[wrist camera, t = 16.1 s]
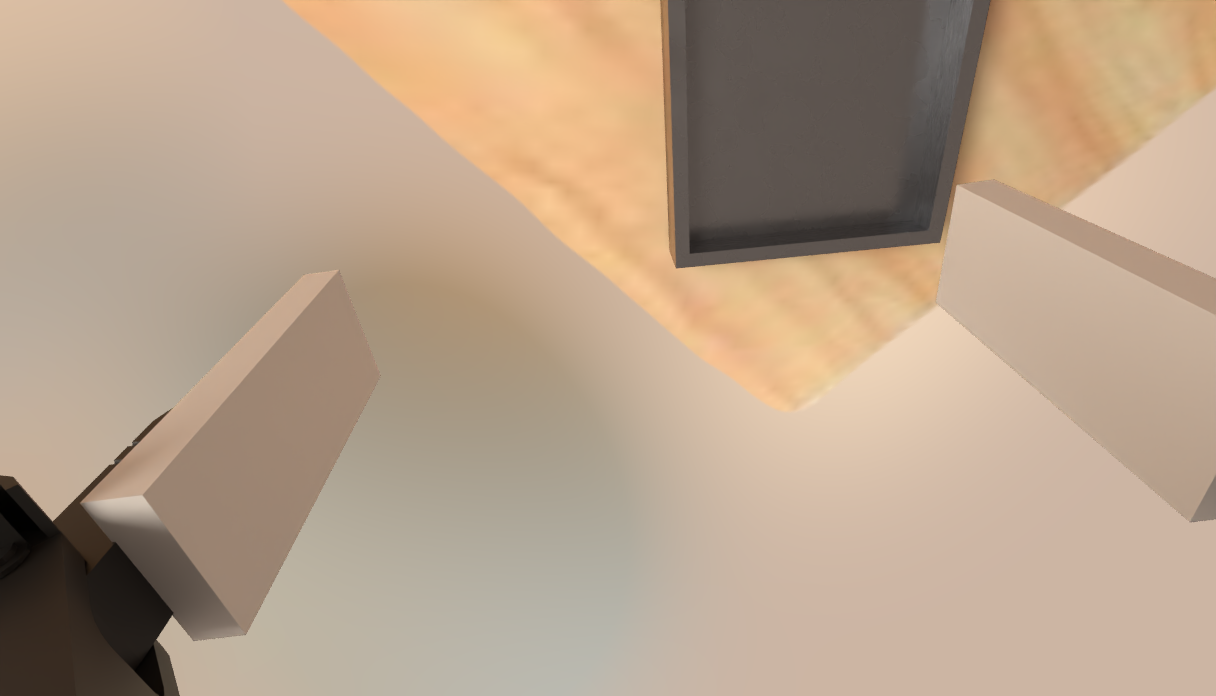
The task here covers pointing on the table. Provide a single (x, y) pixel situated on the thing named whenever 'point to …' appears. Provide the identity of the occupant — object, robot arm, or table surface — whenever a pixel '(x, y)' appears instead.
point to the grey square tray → (812, 123)
